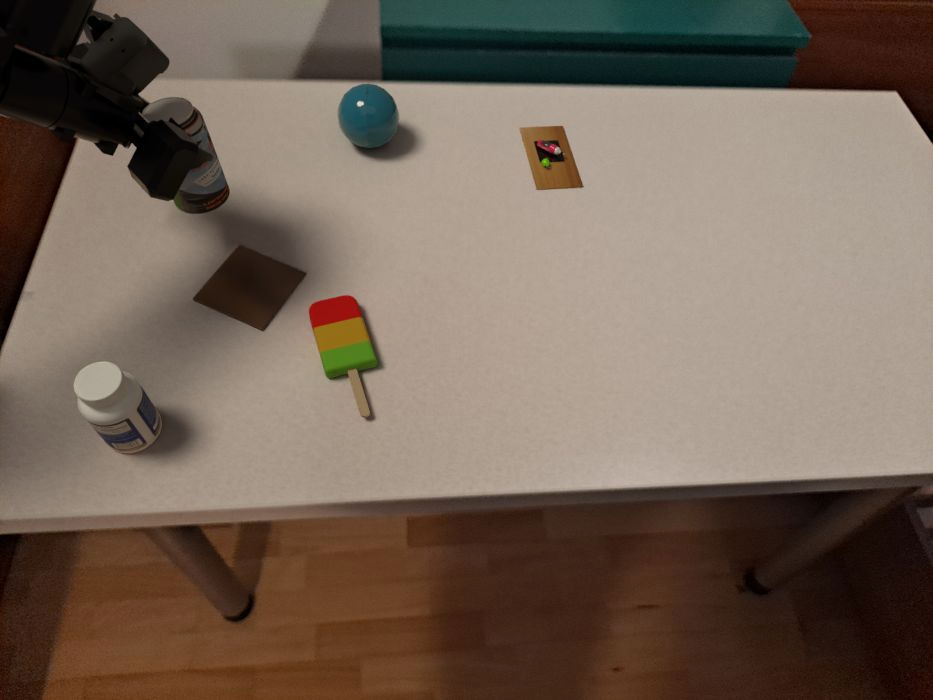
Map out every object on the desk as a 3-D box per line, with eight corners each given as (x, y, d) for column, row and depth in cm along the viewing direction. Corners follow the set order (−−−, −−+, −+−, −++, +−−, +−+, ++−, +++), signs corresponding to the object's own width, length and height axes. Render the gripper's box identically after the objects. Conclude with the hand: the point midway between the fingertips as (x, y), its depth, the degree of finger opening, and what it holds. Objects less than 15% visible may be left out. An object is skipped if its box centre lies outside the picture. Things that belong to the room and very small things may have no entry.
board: (536, 189, 90) (538, 181, 89) (519, 128, 96) (520, 119, 95) (582, 187, 91) (585, 178, 90) (562, 126, 97) (564, 118, 96)
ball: (400, 122, 95) (400, 71, 88) (398, 162, 91) (398, 112, 84) (341, 120, 94) (337, 68, 88) (337, 160, 90) (332, 109, 83)
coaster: (262, 331, 75) (262, 329, 75) (193, 300, 76) (192, 298, 76) (306, 274, 80) (305, 272, 79) (240, 246, 81) (239, 244, 81)
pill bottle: (134, 396, 69) (98, 344, 61) (174, 422, 68) (144, 372, 60) (92, 437, 67) (49, 388, 59) (134, 464, 66) (96, 418, 57)
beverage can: (210, 230, 75) (184, 145, 65) (154, 204, 76) (119, 116, 66) (244, 194, 78) (224, 108, 68) (190, 170, 79) (162, 81, 69)
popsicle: (355, 300, 78) (354, 290, 76) (392, 413, 71) (392, 404, 69) (307, 311, 77) (305, 302, 75) (339, 427, 69) (338, 419, 68)
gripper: (146, 64, 53) (285, 124, 67) (34, -43, 59) (181, 33, 73) (86, 185, 56) (230, 218, 70) (-14, 71, 63) (136, 122, 77)
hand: (194, 143), depth 72 cm, fingers closed on beverage can, 6 cm apart
